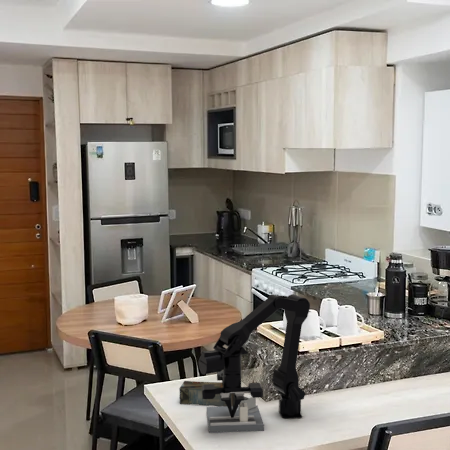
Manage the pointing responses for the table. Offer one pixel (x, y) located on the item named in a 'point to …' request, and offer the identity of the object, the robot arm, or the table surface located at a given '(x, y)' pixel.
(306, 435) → the table surface
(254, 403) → the grey rectangular block
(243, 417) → the fader tab
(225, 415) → the console board
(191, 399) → the weathered grey box
